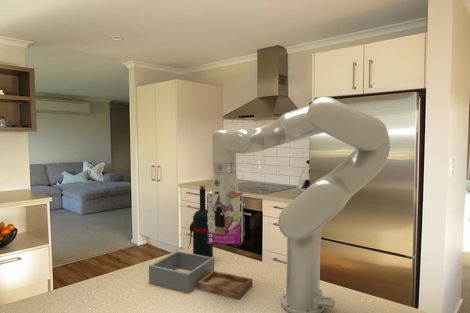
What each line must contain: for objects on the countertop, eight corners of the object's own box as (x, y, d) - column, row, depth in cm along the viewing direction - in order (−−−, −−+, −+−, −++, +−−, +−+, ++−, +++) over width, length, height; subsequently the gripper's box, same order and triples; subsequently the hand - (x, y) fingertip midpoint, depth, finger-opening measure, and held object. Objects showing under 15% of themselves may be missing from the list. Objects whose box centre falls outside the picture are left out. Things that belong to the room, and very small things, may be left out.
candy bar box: (206, 244, 107) (206, 193, 106) (209, 239, 112) (209, 190, 111) (242, 245, 106) (241, 193, 104) (243, 240, 111) (242, 191, 109)
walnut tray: (252, 286, 111) (252, 278, 111) (239, 299, 102) (239, 291, 102) (213, 277, 118) (213, 270, 117) (197, 289, 109) (197, 281, 108)
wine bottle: (189, 257, 137) (188, 184, 135) (214, 258, 136) (214, 184, 134) (185, 264, 129) (184, 187, 127) (211, 265, 128) (210, 187, 126)
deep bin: (214, 274, 120) (214, 257, 120) (188, 293, 106) (188, 274, 106) (177, 266, 127) (177, 250, 127) (149, 283, 113) (148, 265, 113)
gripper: (221, 172, 98) (222, 232, 99) (246, 166, 113) (246, 219, 114) (199, 171, 101) (200, 229, 102) (226, 165, 116) (227, 217, 118)
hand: (225, 223), depth 108 cm, fingers closed on candy bar box, 6 cm apart
